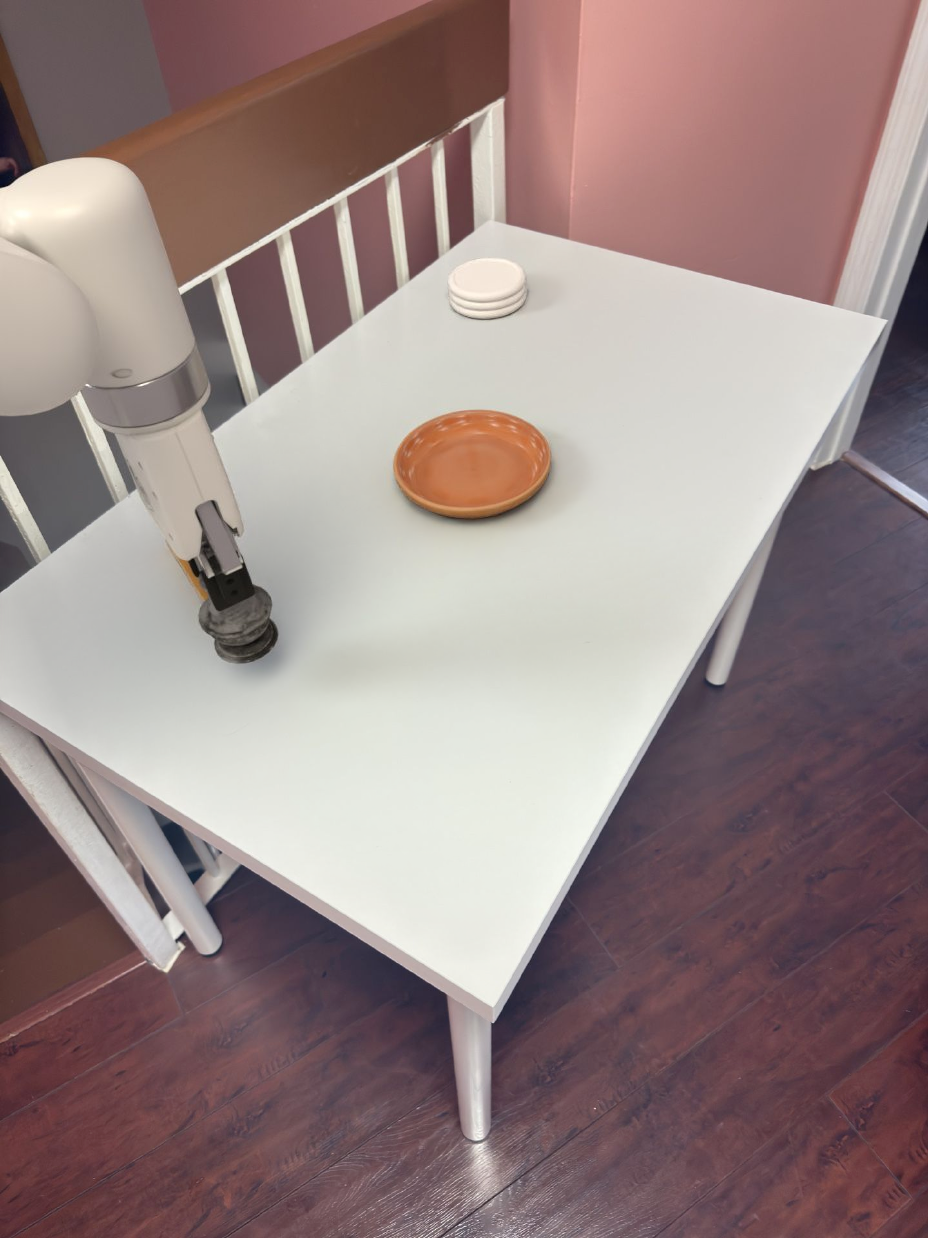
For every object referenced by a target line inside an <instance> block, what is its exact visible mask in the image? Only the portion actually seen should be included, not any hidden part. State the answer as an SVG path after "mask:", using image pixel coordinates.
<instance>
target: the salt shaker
mask: <svg viewBox="0 0 928 1238" xmlns="http://www.w3.org/2000/svg"><path fill="white" fill-rule="evenodd" d="M204 550H205V552H206V555H207V557H208V559H209V557H211V556H213V555H215V554H214V552H213V549H212V547H211V546H209V547H207V548H205V549H204ZM194 559H195V562H196V564H197V567H198V569H199V571H201V570H203V568H202V566H201V564H200V562H199V559H198V557H194ZM198 581H199V585H200V587H201V588H202V589H203V590H204V591H207V589H206V586H205V584H204V582H203V579H202V577H201V574H200V575H199V578H198ZM252 584H253V586H254V589H255V594H254V595H253V596H252V597H250V598H248V599H246V600H244V601H241V602H239V603H237V604H235V605H233V606H231V607H229V608H227V609H225V610H223V611H217V610H216V609H215V607H214V606H213V603H212V601H211V598H210V596H209V594H208V596H209V597H208V598H207V599H206V600H205V601H204V603H203V602H202V605H201V606H200V607H199V610H198V614H197V618H198V624H199V625H200V627H201V629H202V631H204V632H205V633H206V634H207V635H209V636H210V637H212V638H213V639H214V641H213V646H214V651H215V652H216V655H217V656H218V657H219V658H221V660H223V661H225V662H227V663H229V664H230V663H231V664H236V665H241V664H249V663H253V662H255V661H257V660H260V659H262V658H263V657H265V656H266V655H268V654H269V653H270V652H271V651H272V650H273V649H274V647H275V646H276V644H277V643H278V639H279V629H278V626H277V625H276V623H275V621H273V619H271V614H272V609H273V601H272V597H271V595H270V594H269V592H268V591H267V590H266V589H265V588H263V587H262V586H259V585H256V584H254V583H252ZM207 593H208V591H207Z"/></svg>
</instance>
